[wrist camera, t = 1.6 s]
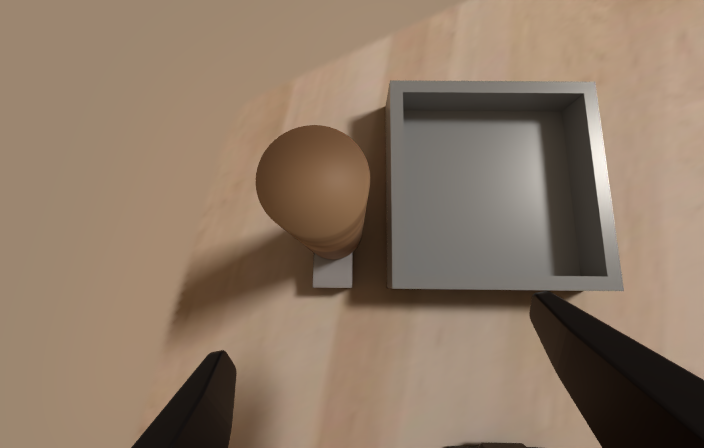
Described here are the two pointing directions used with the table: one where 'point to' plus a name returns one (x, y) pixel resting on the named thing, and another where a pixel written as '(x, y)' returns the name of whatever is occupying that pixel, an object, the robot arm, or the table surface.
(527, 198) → the tray
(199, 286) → the table surface
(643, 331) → the table surface
